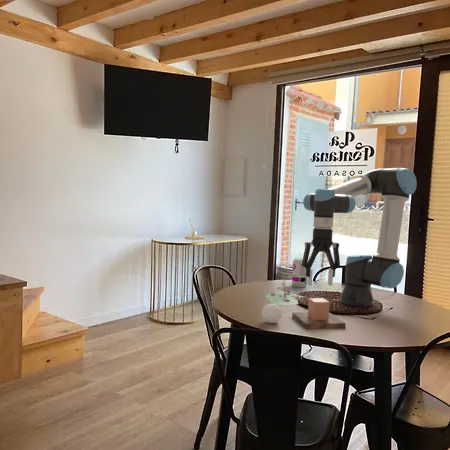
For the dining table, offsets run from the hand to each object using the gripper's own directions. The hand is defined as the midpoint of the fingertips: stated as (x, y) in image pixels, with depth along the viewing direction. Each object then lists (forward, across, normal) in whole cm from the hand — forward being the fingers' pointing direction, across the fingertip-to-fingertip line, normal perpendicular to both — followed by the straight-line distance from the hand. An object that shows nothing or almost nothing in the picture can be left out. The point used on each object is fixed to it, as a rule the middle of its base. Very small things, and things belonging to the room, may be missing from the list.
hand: (319, 285), depth 177 cm
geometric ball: (+15, -19, +1) cm, 25 cm away
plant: (+16, -1, +38) cm, 41 cm away
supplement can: (+15, +17, +68) cm, 72 cm away
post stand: (+15, 0, 0) cm, 15 cm away
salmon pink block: (+13, 0, 0) cm, 13 cm away
